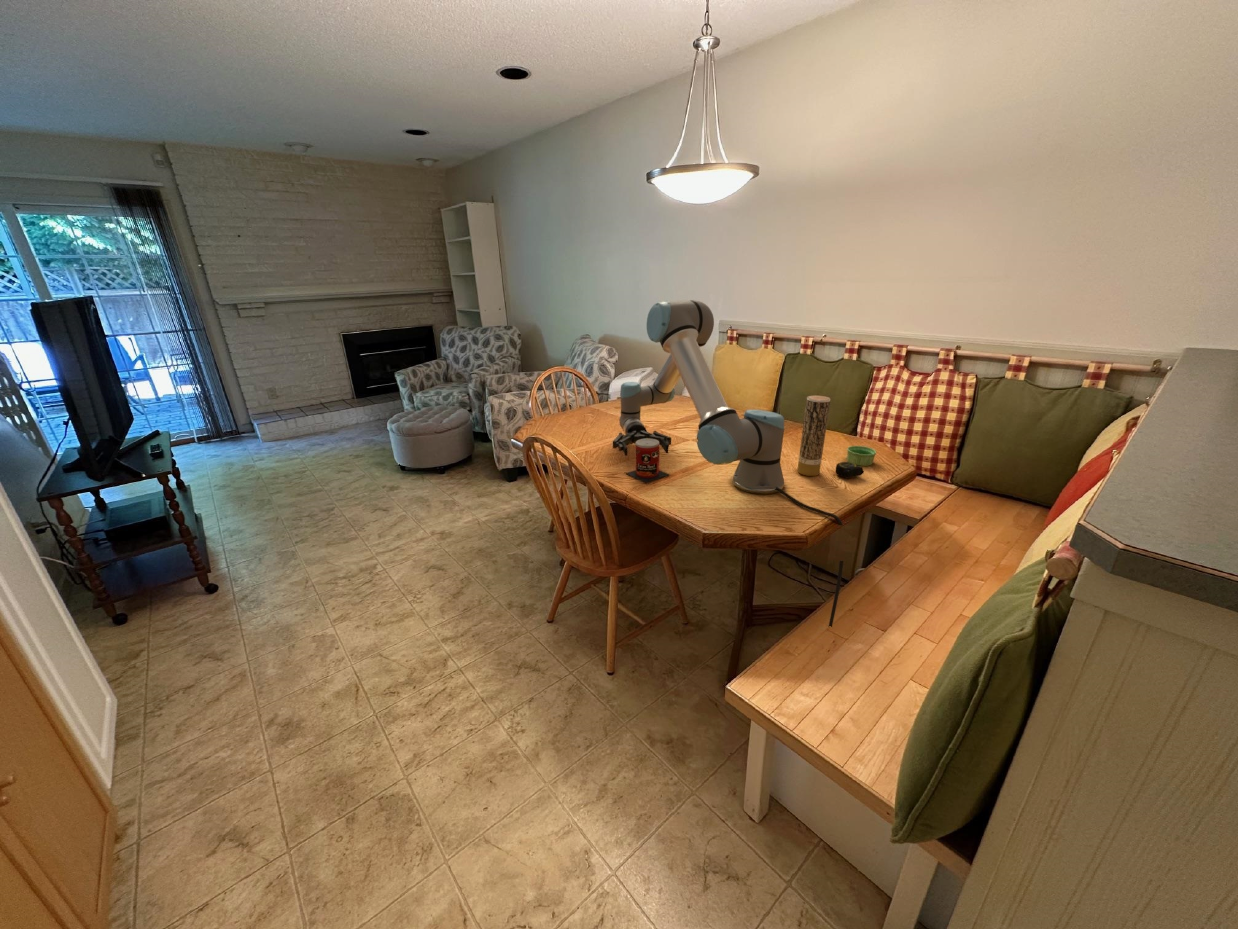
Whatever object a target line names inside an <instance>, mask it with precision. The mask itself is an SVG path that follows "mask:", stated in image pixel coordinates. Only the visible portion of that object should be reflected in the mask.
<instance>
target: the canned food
mask: <svg viewBox="0 0 1238 929" xmlns="http://www.w3.org/2000/svg"><path fill="white" fill-rule="evenodd" d="M634 448H635V470H636V474H637V475H638V476H639V477H642V478H652V477H655V476H657V475H658V473H659V470H660V449H661V448H660V445H659V441H658V440H656V439H651V438H645V439H640V440H637V441H636V444H635V447H634Z"/></svg>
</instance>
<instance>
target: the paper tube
mask: <svg viewBox="0 0 1238 929" xmlns="http://www.w3.org/2000/svg"><path fill="white" fill-rule="evenodd" d="M830 407H831V397H828V396H825V395H808V396H806V402H805V409H804V417H803V424H802V432H801V440H800V445H799V446H800V448H799V454H798V455H799V456H798V463H797V472H798V473H799V474H800V475H802V476H806V477H816V476H818V475H819V474H820V472H821V465H822V460H823V454H824V446H825V440H826V439H825V438H826V432H827V427H828V426H827V425H828V420H829V412H830Z"/></svg>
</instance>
